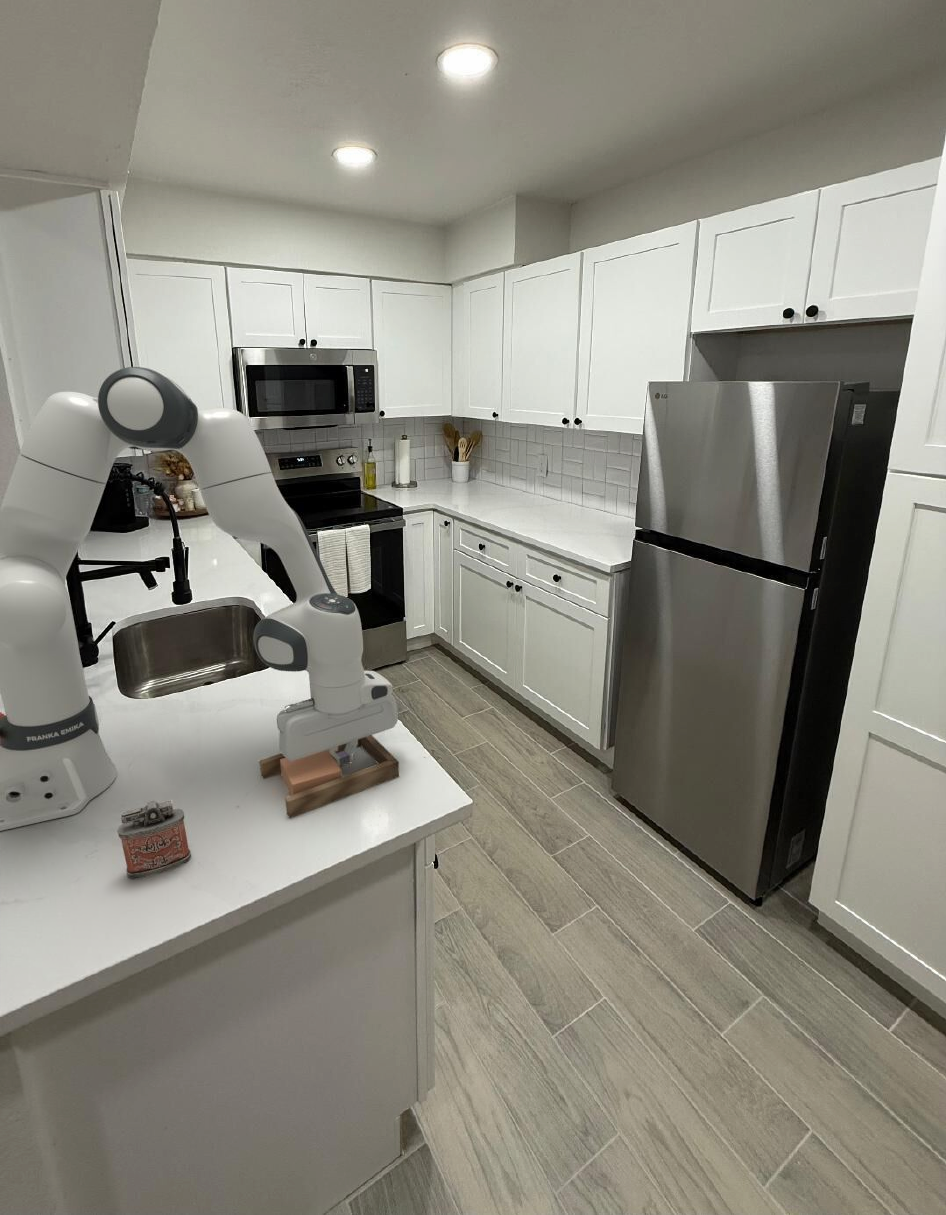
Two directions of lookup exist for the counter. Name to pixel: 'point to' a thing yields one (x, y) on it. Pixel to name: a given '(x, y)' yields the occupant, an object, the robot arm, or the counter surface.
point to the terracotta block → (309, 771)
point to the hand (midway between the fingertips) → (342, 763)
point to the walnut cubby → (340, 786)
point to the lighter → (153, 839)
